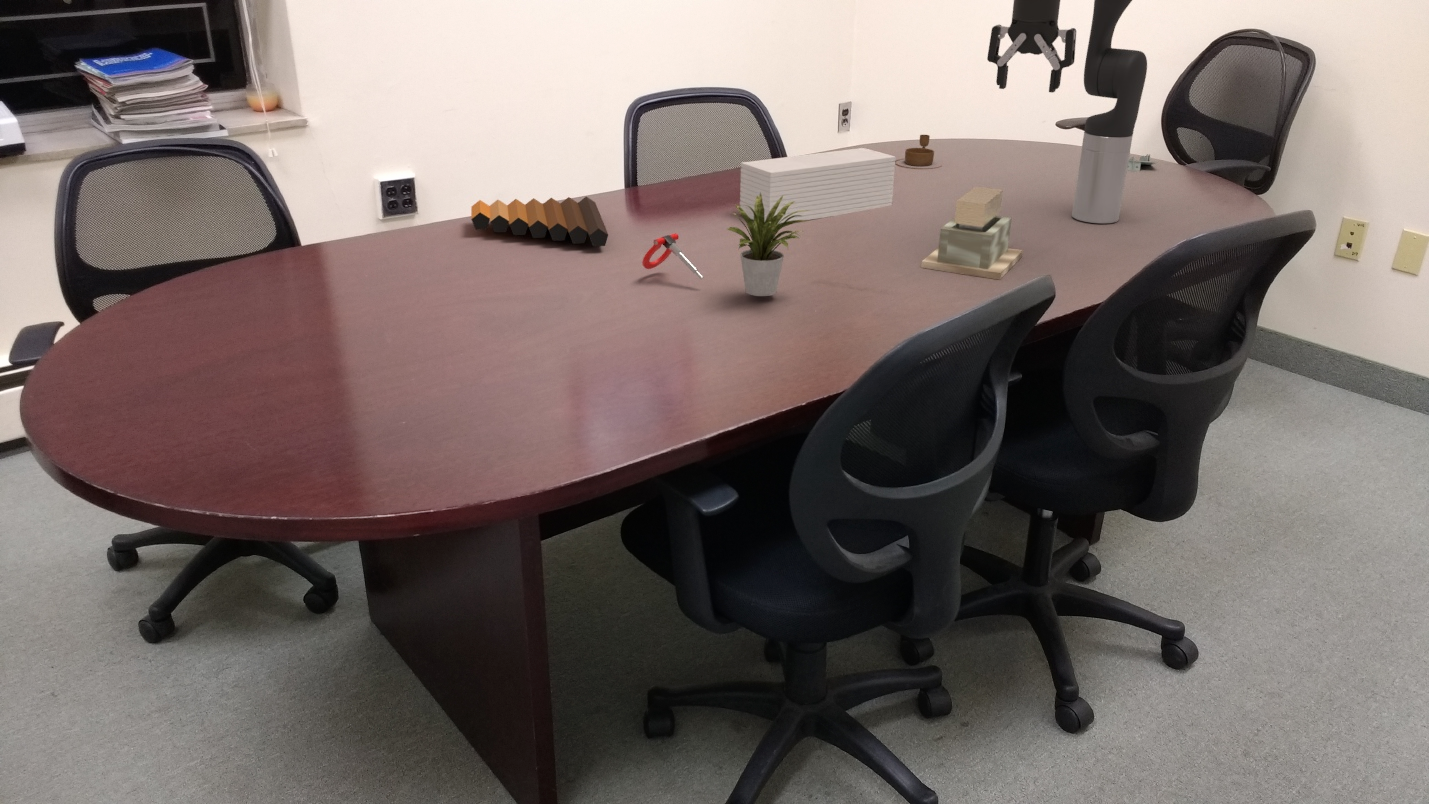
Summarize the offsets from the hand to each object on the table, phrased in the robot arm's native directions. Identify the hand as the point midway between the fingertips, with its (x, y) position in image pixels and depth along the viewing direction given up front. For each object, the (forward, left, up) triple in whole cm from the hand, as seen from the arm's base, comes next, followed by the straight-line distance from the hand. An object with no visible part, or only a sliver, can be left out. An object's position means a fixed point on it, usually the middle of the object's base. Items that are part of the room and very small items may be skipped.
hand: (1026, 90), depth 190 cm
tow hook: (+40, -49, -32) cm, 71 cm away
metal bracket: (-89, +15, -29) cm, 95 cm away
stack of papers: (-14, -43, -30) cm, 55 cm away
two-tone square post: (+7, -4, -28) cm, 30 cm away
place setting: (-69, -37, -31) cm, 84 cm away
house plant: (+43, -30, -30) cm, 60 cm away
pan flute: (+40, -76, -28) cm, 90 cm away
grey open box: (+7, -4, -30) cm, 31 cm away
